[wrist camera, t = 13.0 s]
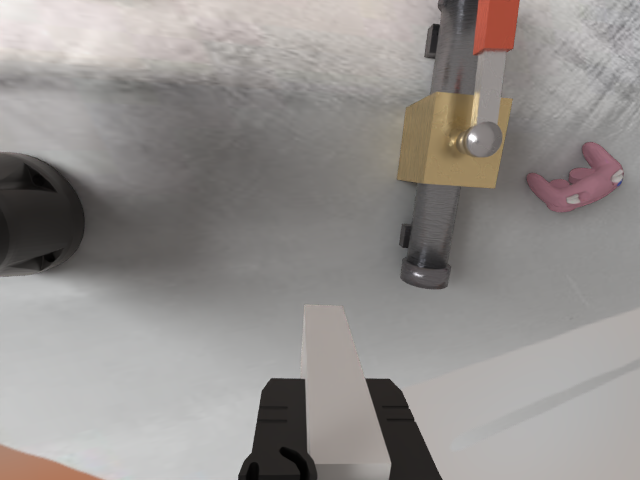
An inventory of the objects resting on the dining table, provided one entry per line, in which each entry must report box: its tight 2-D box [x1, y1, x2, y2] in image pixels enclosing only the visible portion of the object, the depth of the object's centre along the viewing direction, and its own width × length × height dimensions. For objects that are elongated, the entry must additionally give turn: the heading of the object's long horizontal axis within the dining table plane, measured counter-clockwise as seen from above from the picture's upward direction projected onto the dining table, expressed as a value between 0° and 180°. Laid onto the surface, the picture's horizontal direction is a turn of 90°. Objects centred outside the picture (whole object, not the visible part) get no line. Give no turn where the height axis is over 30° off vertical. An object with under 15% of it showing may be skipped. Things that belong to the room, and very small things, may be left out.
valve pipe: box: [397, 0, 513, 289], centre depth 35 cm, size 8×34×11 cm, turn 176°
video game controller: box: [527, 142, 624, 212], centre depth 40 cm, size 10×5×7 cm, turn 119°
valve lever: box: [462, 0, 520, 158], centre depth 28 cm, size 16×3×2 cm, turn 0°
